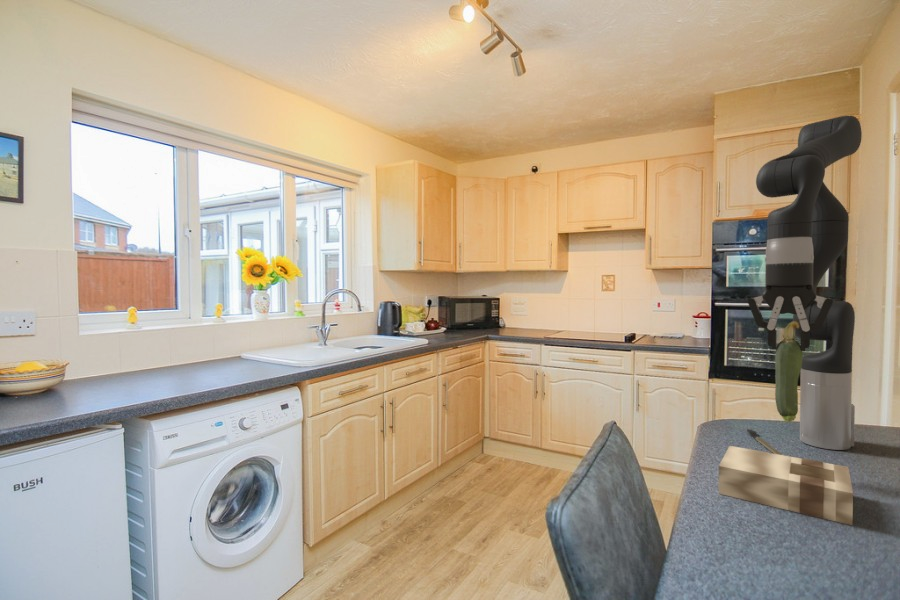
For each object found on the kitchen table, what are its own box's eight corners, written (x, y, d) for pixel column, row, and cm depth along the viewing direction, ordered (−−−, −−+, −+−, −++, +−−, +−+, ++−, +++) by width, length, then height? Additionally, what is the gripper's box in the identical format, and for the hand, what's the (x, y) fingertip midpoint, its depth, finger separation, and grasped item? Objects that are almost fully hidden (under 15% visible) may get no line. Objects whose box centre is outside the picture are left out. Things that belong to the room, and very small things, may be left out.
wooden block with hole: (718, 493, 82) (718, 465, 82) (729, 470, 92) (729, 445, 92) (852, 525, 71) (852, 492, 71) (847, 494, 81) (848, 466, 81)
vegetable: (768, 418, 93) (770, 319, 92) (789, 417, 93) (790, 319, 92) (786, 425, 88) (788, 321, 88) (807, 424, 89) (809, 320, 88)
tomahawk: (813, 471, 94) (814, 466, 94) (776, 465, 96) (777, 460, 96) (772, 436, 114) (773, 432, 114) (742, 432, 116) (742, 428, 116)
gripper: (835, 261, 88) (834, 350, 89) (747, 264, 97) (747, 345, 98) (837, 259, 82) (836, 355, 83) (743, 263, 91) (743, 349, 92)
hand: (788, 349), depth 90 cm, fingers closed on vegetable, 4 cm apart
